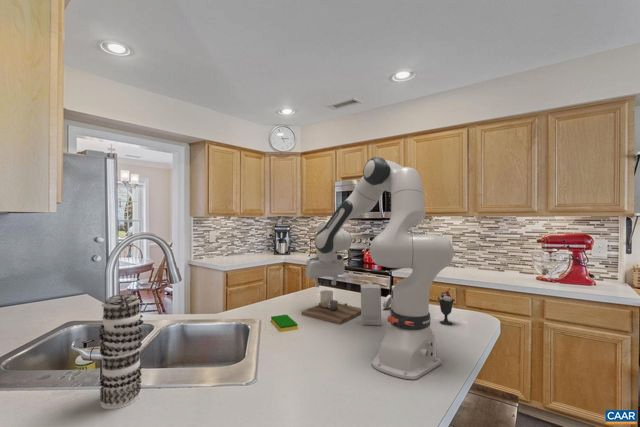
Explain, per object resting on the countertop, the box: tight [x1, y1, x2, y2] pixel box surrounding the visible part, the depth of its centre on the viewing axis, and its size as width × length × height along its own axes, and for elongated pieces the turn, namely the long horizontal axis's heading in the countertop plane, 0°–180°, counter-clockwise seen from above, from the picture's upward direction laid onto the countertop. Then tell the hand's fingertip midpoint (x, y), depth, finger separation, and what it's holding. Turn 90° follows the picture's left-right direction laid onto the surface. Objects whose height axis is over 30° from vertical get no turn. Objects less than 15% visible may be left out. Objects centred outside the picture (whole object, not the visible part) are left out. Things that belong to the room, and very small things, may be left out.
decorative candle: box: [98, 293, 144, 410], centre depth 78 cm, size 9×9×25 cm
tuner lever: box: [319, 289, 339, 310], centre depth 148 cm, size 11×6×6 cm, turn 30°
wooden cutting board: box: [301, 302, 361, 325], centre depth 145 cm, size 21×21×2 cm
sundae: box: [437, 287, 456, 326], centre depth 132 cm, size 7×7×15 cm
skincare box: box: [360, 283, 382, 326], centre depth 132 cm, size 8×7×16 cm
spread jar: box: [382, 284, 395, 312], centre depth 149 cm, size 12×11×12 cm
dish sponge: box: [270, 314, 299, 333], centre depth 130 cm, size 7×14×2 cm, turn 25°
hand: (325, 285), depth 150 cm, fingers open, 8 cm apart
